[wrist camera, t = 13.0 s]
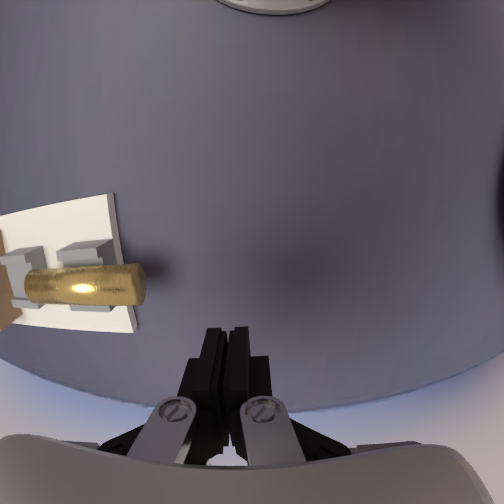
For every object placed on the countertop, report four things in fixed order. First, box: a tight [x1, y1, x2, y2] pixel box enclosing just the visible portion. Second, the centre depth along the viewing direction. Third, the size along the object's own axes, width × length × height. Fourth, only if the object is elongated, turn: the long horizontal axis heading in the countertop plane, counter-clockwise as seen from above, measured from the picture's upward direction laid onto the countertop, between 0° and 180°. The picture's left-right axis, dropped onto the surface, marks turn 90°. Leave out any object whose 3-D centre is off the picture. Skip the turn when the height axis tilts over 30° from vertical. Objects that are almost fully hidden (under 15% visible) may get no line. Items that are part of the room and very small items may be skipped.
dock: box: [0, 193, 138, 333], centre depth 20 cm, size 26×12×5 cm, turn 94°
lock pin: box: [24, 263, 146, 306], centre depth 18 cm, size 10×3×3 cm, turn 94°
